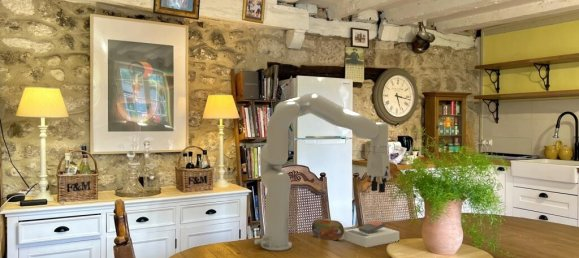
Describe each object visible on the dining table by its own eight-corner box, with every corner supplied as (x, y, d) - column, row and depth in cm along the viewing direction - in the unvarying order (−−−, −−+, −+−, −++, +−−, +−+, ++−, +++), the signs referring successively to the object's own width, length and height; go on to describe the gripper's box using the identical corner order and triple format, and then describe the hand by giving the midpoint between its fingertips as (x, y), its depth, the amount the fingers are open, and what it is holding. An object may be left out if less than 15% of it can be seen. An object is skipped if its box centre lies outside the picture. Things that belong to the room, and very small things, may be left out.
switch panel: (366, 247, 176) (366, 236, 176) (343, 239, 188) (343, 229, 188) (399, 240, 188) (399, 230, 188) (375, 233, 199) (376, 223, 199)
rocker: (368, 233, 183) (368, 230, 182) (358, 230, 188) (358, 227, 187) (384, 226, 188) (384, 223, 188) (374, 223, 193) (374, 220, 193)
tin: (311, 236, 193) (311, 217, 193) (314, 234, 195) (315, 216, 195) (341, 242, 184) (341, 222, 184) (344, 240, 187) (345, 221, 187)
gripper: (359, 149, 194) (358, 189, 194) (387, 151, 180) (386, 195, 180) (371, 148, 198) (370, 188, 198) (399, 151, 184) (398, 193, 185)
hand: (378, 191), depth 189 cm, fingers open, 3 cm apart
